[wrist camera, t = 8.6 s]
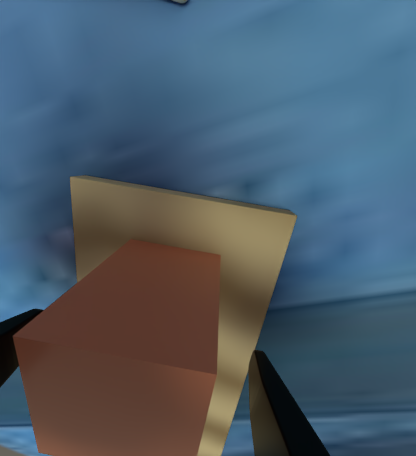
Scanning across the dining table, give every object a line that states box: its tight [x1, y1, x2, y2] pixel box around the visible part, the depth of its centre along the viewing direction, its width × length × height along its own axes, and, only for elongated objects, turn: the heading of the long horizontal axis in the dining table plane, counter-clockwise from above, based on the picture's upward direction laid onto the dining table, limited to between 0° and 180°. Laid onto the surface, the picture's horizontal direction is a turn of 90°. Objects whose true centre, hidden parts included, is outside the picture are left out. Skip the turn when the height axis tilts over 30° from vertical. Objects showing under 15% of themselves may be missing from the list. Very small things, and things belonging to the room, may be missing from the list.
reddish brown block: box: [13, 239, 221, 456], centre depth 9 cm, size 5×5×7 cm
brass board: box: [70, 175, 297, 456], centre depth 15 cm, size 24×12×1 cm, turn 171°
